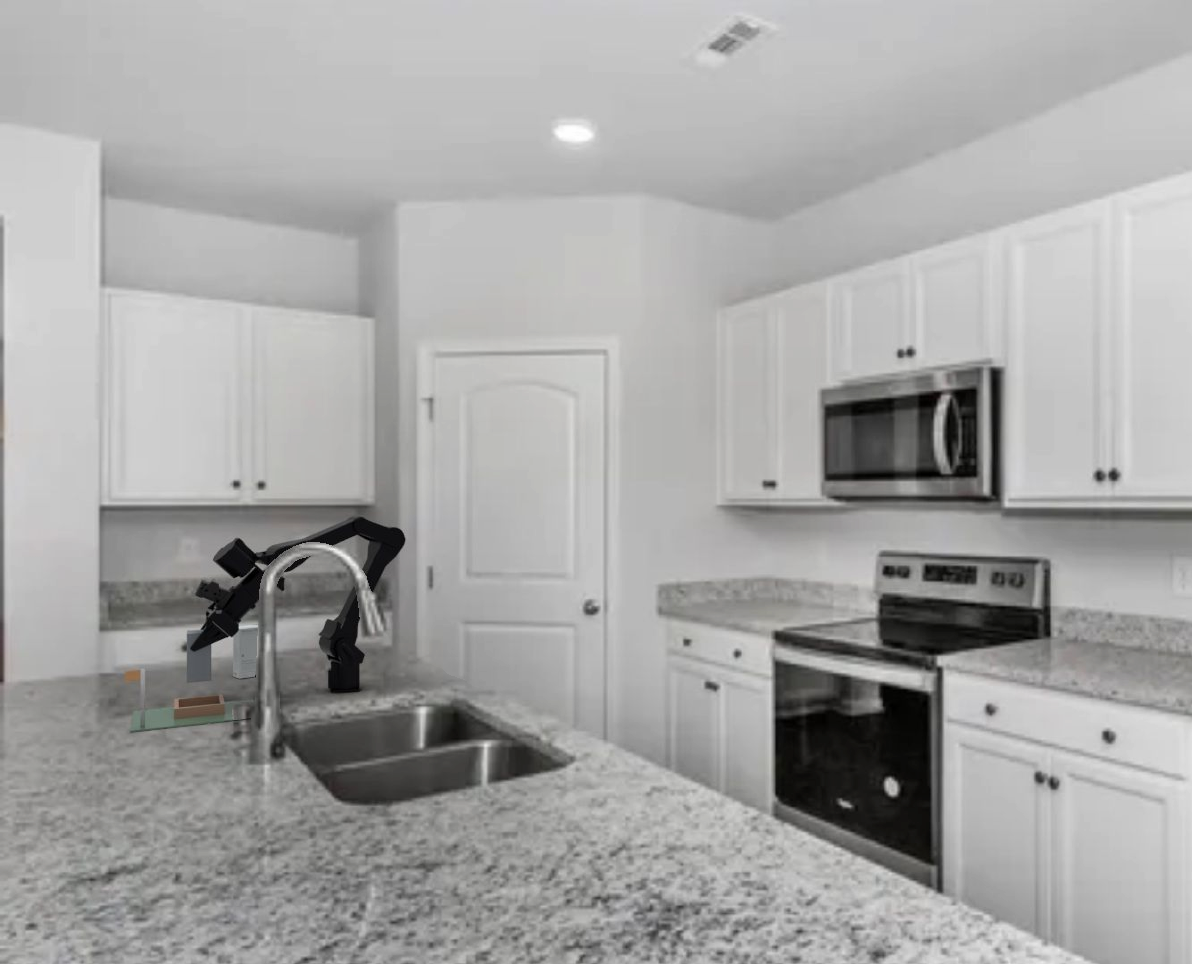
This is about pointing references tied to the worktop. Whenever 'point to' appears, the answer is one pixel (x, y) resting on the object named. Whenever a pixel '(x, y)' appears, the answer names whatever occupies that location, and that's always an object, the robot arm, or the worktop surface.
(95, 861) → the worktop surface
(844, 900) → the worktop surface
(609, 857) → the worktop surface
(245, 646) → the skincare box
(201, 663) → the grey block
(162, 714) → the green base plate
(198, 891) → the worktop surface
